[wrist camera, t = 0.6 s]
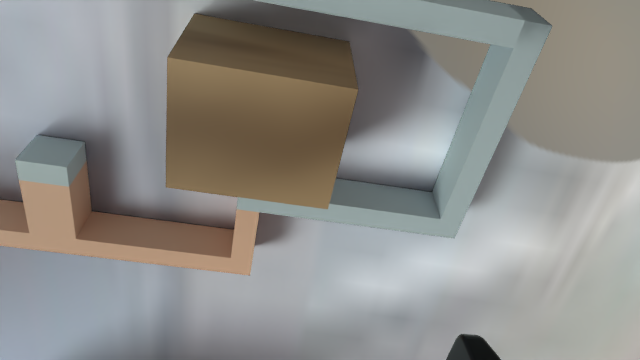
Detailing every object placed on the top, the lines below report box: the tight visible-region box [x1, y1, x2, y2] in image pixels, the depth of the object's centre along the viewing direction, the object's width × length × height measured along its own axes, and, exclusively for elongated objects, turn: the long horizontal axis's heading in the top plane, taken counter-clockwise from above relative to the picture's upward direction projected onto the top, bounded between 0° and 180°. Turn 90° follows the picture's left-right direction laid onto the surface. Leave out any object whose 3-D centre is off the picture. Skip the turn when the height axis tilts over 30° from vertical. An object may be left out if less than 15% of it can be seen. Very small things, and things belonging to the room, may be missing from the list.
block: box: [166, 14, 358, 209], centre depth 19 cm, size 5×6×4 cm
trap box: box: [0, 0, 552, 275], centre depth 20 cm, size 14×30×2 cm, turn 79°
